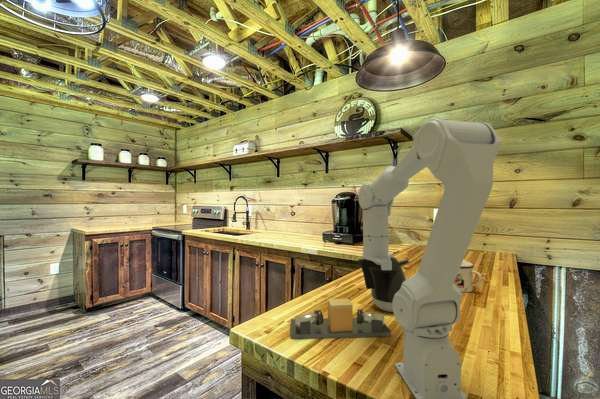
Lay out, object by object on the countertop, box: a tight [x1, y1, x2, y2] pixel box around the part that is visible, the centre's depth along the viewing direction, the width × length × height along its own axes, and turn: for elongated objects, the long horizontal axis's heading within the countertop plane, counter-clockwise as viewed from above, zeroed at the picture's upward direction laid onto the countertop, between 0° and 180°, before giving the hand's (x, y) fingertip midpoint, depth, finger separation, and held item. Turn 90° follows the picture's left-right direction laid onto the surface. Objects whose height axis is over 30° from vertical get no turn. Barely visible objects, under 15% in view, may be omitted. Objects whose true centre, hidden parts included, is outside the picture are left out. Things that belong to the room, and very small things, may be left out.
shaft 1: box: [294, 309, 324, 335], centre depth 65 cm, size 6×3×4 cm, turn 112°
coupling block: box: [327, 298, 354, 332], centre depth 66 cm, size 4×5×6 cm
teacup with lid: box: [454, 258, 483, 293], centre depth 96 cm, size 12×9×12 cm
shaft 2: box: [356, 308, 385, 333], centre depth 65 cm, size 6×3×4 cm, turn 72°
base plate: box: [290, 317, 392, 340], centre depth 67 cm, size 8×23×1 cm, turn 92°
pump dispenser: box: [370, 256, 410, 313], centre depth 80 cm, size 10×10×15 cm
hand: (375, 293), depth 65 cm, fingers open, 7 cm apart
